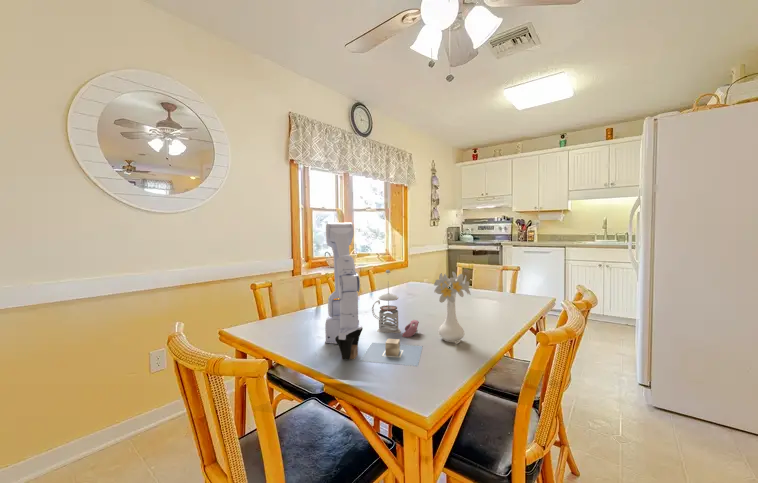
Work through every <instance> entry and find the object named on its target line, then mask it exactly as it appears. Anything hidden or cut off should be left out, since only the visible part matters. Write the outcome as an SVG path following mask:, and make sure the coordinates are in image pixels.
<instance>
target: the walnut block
mask: <svg viewBox="0 0 758 483" xmlns="http://www.w3.org/2000/svg"><path fill="white" fill-rule="evenodd" d="M358 355H359V344H358V345H352V347H351V355H350V359H349V360H355V359H356V358H357V356H358Z"/></svg>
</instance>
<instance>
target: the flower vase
mask: <svg viewBox="0 0 758 483" xmlns="http://www.w3.org/2000/svg"><path fill="white" fill-rule="evenodd" d="M452 276H453V277H450V278H448V275H447V274H446V273H444V274H443V273H440V274H439V279H435V282H434V283H433V286H435V289H434V293H435V294H437V295H440V296H439V303H442V304H443V303H445V301H446V313H445V314H446V315H445V320H443V321H444V322H442V324H441V325H440V326H439V327H438V330H437V332H438V335H439V337H440V338H441V339H442V340H443V341H445V342H447V343H455V345H459V343H461V340H462V339H463V338H464V337H465V329H464V327H463V326H462V325H461V324H460V323H459V321H458V319H457V313H456V297H457V294H458V296H459V297H461V298H463V297H464V292H463V291H465V293H466V294H467V295H470V296H471V295H472V294H471V291H470V281H469V280H468V281H467V275H466V274H465V275H464V274H462V273H460V274H458V275H457V274H456V272H455V271H452ZM464 276H465V277H464Z"/></svg>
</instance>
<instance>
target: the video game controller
mask: <svg viewBox="0 0 758 483" xmlns="http://www.w3.org/2000/svg"><path fill="white" fill-rule="evenodd" d="M419 323H420V322H419V320H417V319H413V320H411V321H410V323H408V324H407V325H406V326H405V327H404V332H403V333H402V336H401V337H403V338H411V337H413V336H414V335H415V333H416V334H417V333H418V332H419V329H418V327H419Z"/></svg>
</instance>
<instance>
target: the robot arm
mask: <svg viewBox="0 0 758 483" xmlns="http://www.w3.org/2000/svg"><path fill="white" fill-rule="evenodd" d="M354 229H355V228H354V225H353V223H352V222H327V223H326V224H325V237H326V238H325V239H326V245H327V246H328V247H329V248H331V250H332V254H333V270H334V272H333V273H334V275H333V276H334V290H333V292H331V293H330V294H329V295H328V299H327V300H328V301H327V309H328V310H327V312H328V316H327V318H326V320H325V327H324V329H325V330H324V331H325V332H324V333H325V341H324V344H334V345H338V347H339V350H340V354H341V359H342V360H347V361H349V360H351V359H350V355H351V347H352V345H358V346H359V341H360V337H361V333H362V331H363V325H360V319H359V294H358V293H359V292H360V289H361V288H360V286H361V284H360V281H361V280H360V276H359V274H358V272H357V271H356V265H355V261H354V257H352V255H351V254H350V246H351V245H352V243H353V238H354V233H355V231H354Z"/></svg>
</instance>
